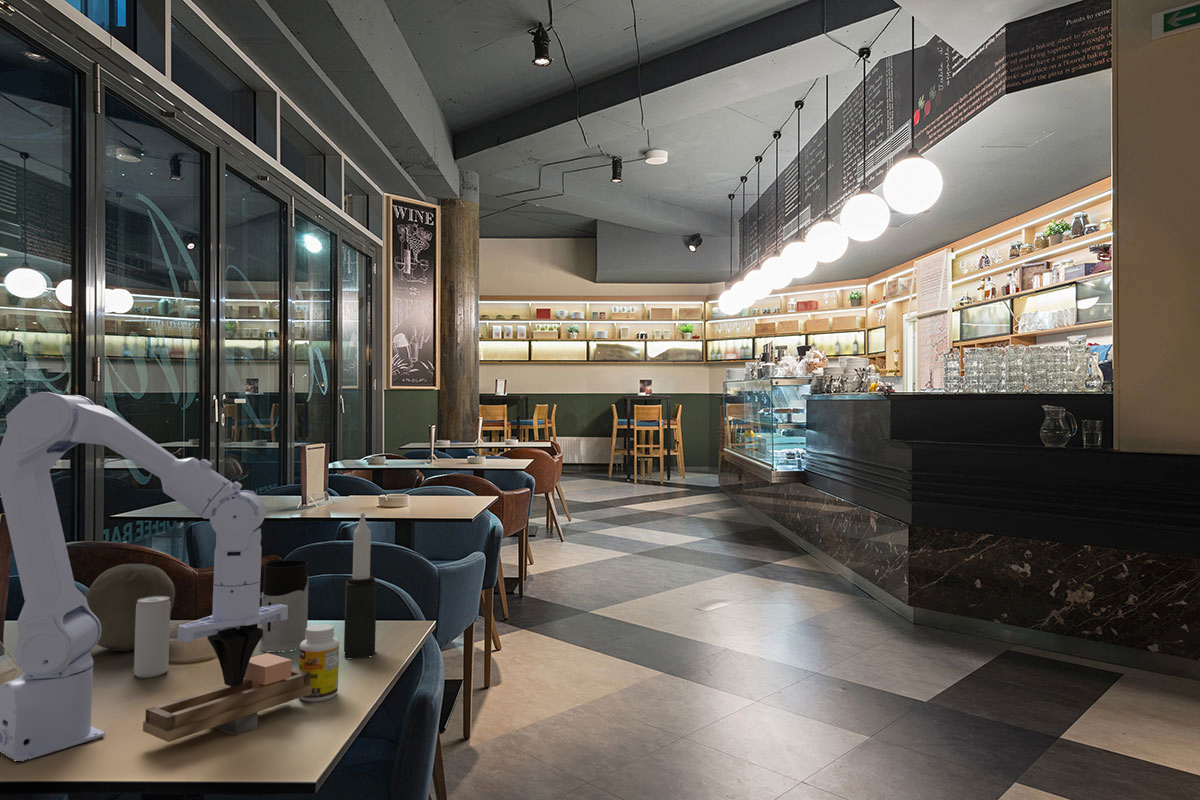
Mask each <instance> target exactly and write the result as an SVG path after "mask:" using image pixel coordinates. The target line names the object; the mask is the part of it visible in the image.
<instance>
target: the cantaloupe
mask: <svg viewBox="0 0 1200 800" xmlns="http://www.w3.org/2000/svg"><path fill="white" fill-rule="evenodd" d="M84 596H85V597H86V598H87V603H88V606H89V608H90V610H91V611H92V613H93V614H94V615H95V616H96V617H97V618H98V619H99V621H100V623H101V628H102V632H101V637H100V639H99V641H98V643H97V644H96V645H97V646H99V647H101V648H105V649H108V650H111V651H116V652H128V651H129V652H130V651H133V650H135V620H136V605H137V603H138V602H137V600H139V599H141V598H145V597H152V596H167V597H170V599H169V601H170V602H171V604H170V613H171V612H172V609H173V607H174V603H175V598H176V589H175V585H174V582H173V580H172V579H171V578H170V577H169V575H167V573H166V572H165V571H164V570H163V569H161V568H160V567H158V566H155V565H152V564H146V563H123V564H119V565H116V566H113V567H110V568H108V569H106V570H105V571H104V572H102V573H101V574H100V575H98V576H97V578H96V579H95V580H94V581H93V582H92V584H91V585H90V586H89V589H88V590H87V593H86V594H85V595H84Z"/></svg>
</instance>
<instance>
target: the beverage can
mask: <svg viewBox="0 0 1200 800" xmlns="http://www.w3.org/2000/svg"><path fill="white" fill-rule="evenodd" d="M169 599H170V597H167V596H152V597H145V598H141V599H139V600H137V602H138V603H137V605H136V620H135V649H134V652H133V653H134V655H133V657H134V658H133V659H134V661H133V673H134V675H135V676H136V678H137V677H138V678H142V679H150V678H155V677H159V676H161V675H164V674H165V673H166V672H167V671H168V669H169V660H170V658H169V656H170V654H169V652H170V631H171V630H170V627H171V626H170V625H171V612H170V604H171V602H170V601H169Z"/></svg>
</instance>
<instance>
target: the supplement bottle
mask: <svg viewBox="0 0 1200 800" xmlns="http://www.w3.org/2000/svg"><path fill="white" fill-rule="evenodd" d="M334 631H335V627H334V625H333V624H332V625H331V624H327V623H326V624H325V623H324V624H323V623H322V624H320V623H319V624H314V625H310V626H307V628H306V635H305V637H306V638H305V640H304V641H302V642H301V644H300V649H299V650H298V651H299V655H298V657H299V659H298V660H299V661H298V670H300V671H304V672H307V673H310V685H312V694H310V695H307V696H304V697H301V698H299V699H300V700H302V701H304V702H309V703H310V702H312V703H316V702H323V701H327V700H330V699H332V698H334V697H335V696H336V695H338V694H337V693H338V691H339V688H338V687H339V660H340V659H339V658H340V657H339V656H340V641H339V639H338V638H336V637H335V632H334Z"/></svg>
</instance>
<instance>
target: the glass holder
mask: <svg viewBox="0 0 1200 800" xmlns="http://www.w3.org/2000/svg"><path fill="white" fill-rule="evenodd" d="M308 571H309V562H308V561H306V560H299V559H289V560H287V559H286V560H284V559H283V560H275V561H269V562H266V563H264V565H263V588H262V589H263V591H262V594H261V595H260V599H261V607H265V606H272V605H277V604H281V605H286V606H288V619H287V620H282V621H280V620H276V621H272V622H268V623H263V624H260V626H261V627H260V628H261V629H263V636H262V638H261V639H260V641H259V643H258V645H257V649H258V648H259V649H260V650H263V651H271V652H273V651H274V652H279V651H280V652H282V651H290V650H295V649H299V650H300V644H301V642H302V641H304V640H305V638H306V637H305V635H306V628H307V627H308V616H309V615H308V612H309V611H308V610H309V608H308V607H309V605H308V604H309V575H308V574H309V573H308ZM260 650H259V651H260ZM295 651H296V650H295ZM290 652H291V651H290ZM282 653H283V652H282Z"/></svg>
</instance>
